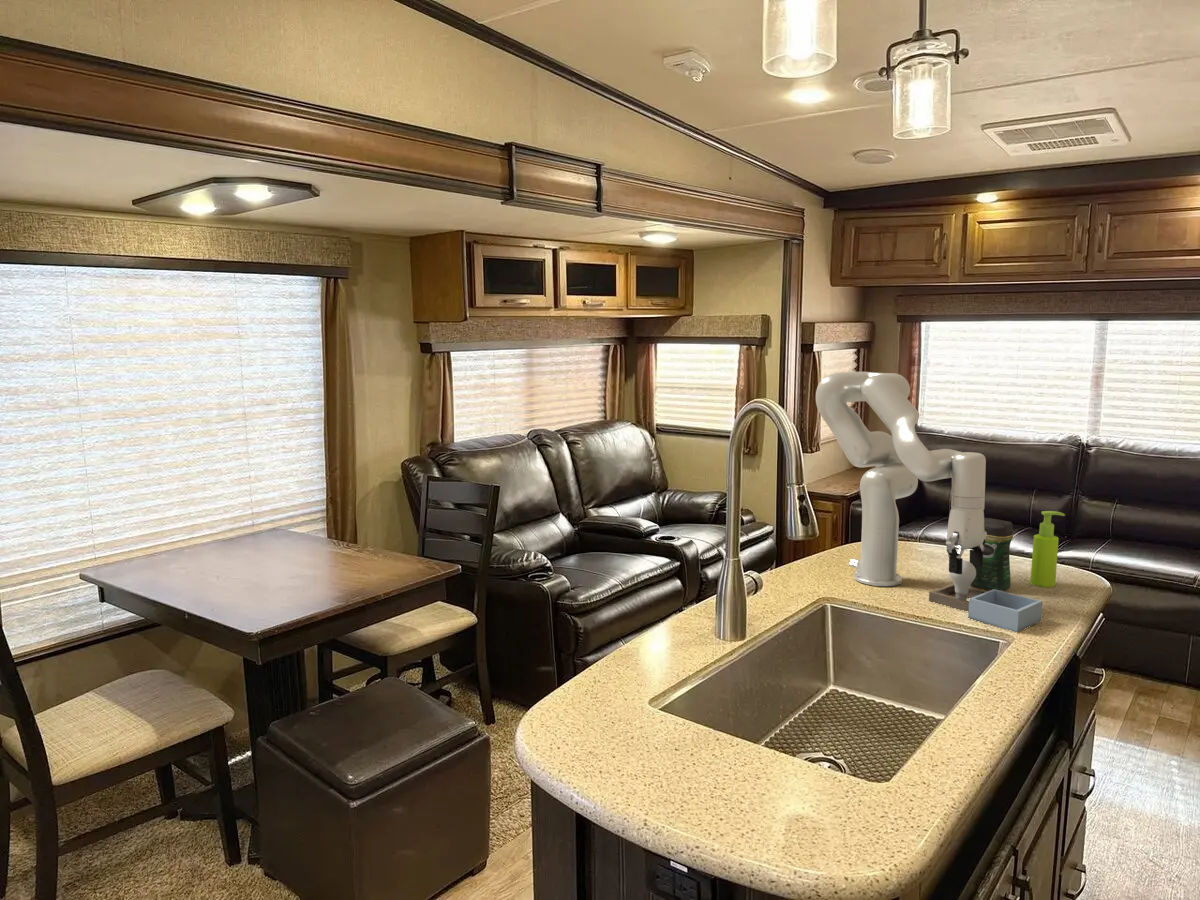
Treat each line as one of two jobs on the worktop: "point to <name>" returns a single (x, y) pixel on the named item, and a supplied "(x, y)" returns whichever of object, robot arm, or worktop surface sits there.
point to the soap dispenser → (1045, 553)
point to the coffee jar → (995, 556)
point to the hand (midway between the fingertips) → (965, 569)
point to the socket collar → (944, 597)
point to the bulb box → (1005, 610)
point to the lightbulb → (963, 579)
